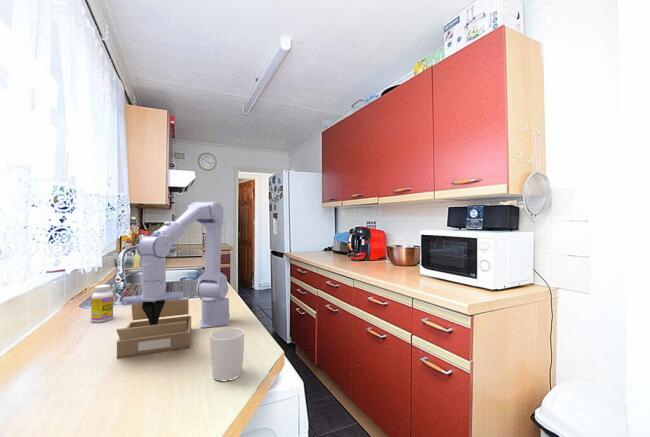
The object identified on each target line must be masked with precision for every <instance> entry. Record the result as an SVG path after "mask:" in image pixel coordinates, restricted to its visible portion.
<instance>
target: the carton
mask: <svg viewBox="0 0 650 437" xmlns="http://www.w3.org/2000/svg"><path fill="white" fill-rule="evenodd" d="M183 321H186V328H187V332H179V333H171V334H163V335H156V336H148V337H140V338H132V339H124V340H120V338H119V337H118V338H119V339H117V341H116V359H122V358H123V359H124V358H130V357H134V356H136V357H137V356H143V355H149V354H156V353H163V352H170V351H177V350H178V351H179V350H183V349H189V348H190V346H191V337H192V334H191V333H192V315H186V316H185V315H182V316H173V317H164V318H159V320H158V324H165V323H174V322H183ZM148 325H150V323H149V320H148V319H146V320H137V321H131V322H130V321H129V323H128V325H127V326H126V328H131V327H140V326H148Z"/></svg>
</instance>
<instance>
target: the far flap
mask: <svg viewBox="0 0 650 437" xmlns="http://www.w3.org/2000/svg"><path fill="white" fill-rule="evenodd" d="M142 305H143V303H142V304H132V305H131V314H132V316H131V317H132V321H142V320H148V318H147V316H146V314H145V312H144V311H143V309H142ZM189 308H190V306H189V298H183V300H180V301H179V300H174V301H166V302H165V304H164V306H163V308H162V311H161V313H160V317H159V318H170V317H179V316H185V315H186V316H188V315H189V312H190V311H189Z"/></svg>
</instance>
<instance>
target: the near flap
mask: <svg viewBox="0 0 650 437" xmlns="http://www.w3.org/2000/svg"><path fill="white" fill-rule="evenodd" d="M115 331H116V333H117V335H118V338H120V340H124V339H132V338H140V337H148V336H156V335H163V334H171V333H179V332H187V328H186V321H183V322H174V323H165V324H157V325H148V326H140V327H131V328H127V327H124V328H116V330H115Z"/></svg>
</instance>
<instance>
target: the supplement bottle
mask: <svg viewBox="0 0 650 437" xmlns="http://www.w3.org/2000/svg"><path fill="white" fill-rule="evenodd" d="M90 300H91V302H90V306H91V307H90V311H91V312H90V314H91V315H90V320H91V322H92V323H95V324H97V323H106V322H108V321H111V320H112V319H113V318H114V293H113V291H111V285H110V284H99V285H96V286H94V293H93V294H92V295H91V299H90Z"/></svg>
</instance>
